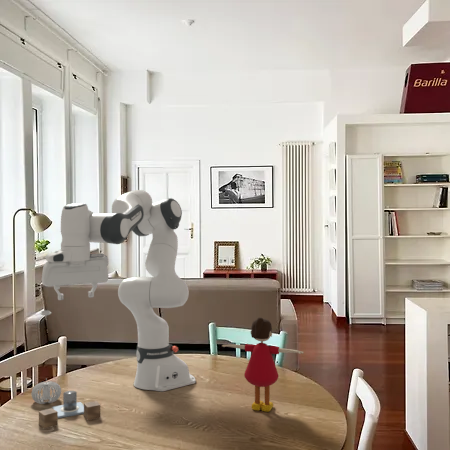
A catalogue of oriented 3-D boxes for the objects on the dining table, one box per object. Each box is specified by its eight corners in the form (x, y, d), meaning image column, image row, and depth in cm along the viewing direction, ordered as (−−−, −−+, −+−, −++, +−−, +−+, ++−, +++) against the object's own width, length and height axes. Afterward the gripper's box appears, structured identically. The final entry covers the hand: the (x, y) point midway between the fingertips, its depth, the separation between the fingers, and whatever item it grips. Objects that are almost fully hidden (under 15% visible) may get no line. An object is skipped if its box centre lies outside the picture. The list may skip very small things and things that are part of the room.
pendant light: (52, 407, 171) (51, 314, 170) (25, 405, 172) (25, 313, 172) (66, 397, 180) (65, 309, 179) (41, 395, 182) (40, 308, 181)
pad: (80, 403, 174) (80, 401, 174) (87, 413, 166) (87, 410, 166) (52, 408, 170) (52, 406, 170) (58, 418, 162) (58, 416, 162)
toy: (305, 409, 169) (306, 315, 169) (299, 422, 159) (299, 322, 158) (226, 399, 178) (227, 310, 177) (215, 411, 168) (215, 316, 167)
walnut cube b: (51, 421, 160) (51, 408, 160) (57, 425, 157) (57, 411, 157) (38, 424, 157) (38, 411, 157) (44, 428, 154) (44, 415, 154)
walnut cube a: (96, 413, 166) (96, 400, 166) (100, 417, 162) (100, 405, 162) (83, 416, 164) (83, 403, 164) (87, 420, 161) (87, 407, 160)
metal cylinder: (77, 409, 167) (77, 393, 167) (64, 411, 165) (64, 395, 165) (75, 405, 171) (74, 389, 170) (62, 407, 169) (62, 391, 169)
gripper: (105, 252, 175) (105, 294, 176) (40, 255, 165) (41, 299, 166) (110, 254, 170) (111, 297, 170) (44, 257, 160) (44, 302, 160)
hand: (76, 298), depth 168 cm, fingers open, 8 cm apart
